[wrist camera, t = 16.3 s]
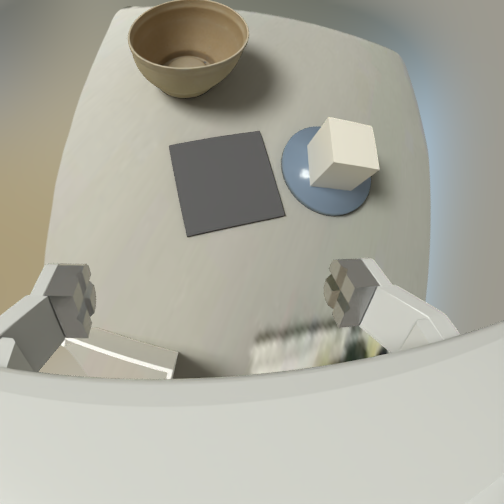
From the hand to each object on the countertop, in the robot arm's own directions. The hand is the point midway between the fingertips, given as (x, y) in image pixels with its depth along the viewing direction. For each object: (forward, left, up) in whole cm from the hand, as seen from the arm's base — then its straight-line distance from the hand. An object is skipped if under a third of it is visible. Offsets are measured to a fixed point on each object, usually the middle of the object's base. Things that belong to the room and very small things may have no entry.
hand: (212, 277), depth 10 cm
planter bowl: (+33, -5, -29) cm, 44 cm away
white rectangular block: (+13, -22, -28) cm, 37 cm away
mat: (+14, -7, -29) cm, 33 cm away
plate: (+13, -22, -29) cm, 38 cm away
